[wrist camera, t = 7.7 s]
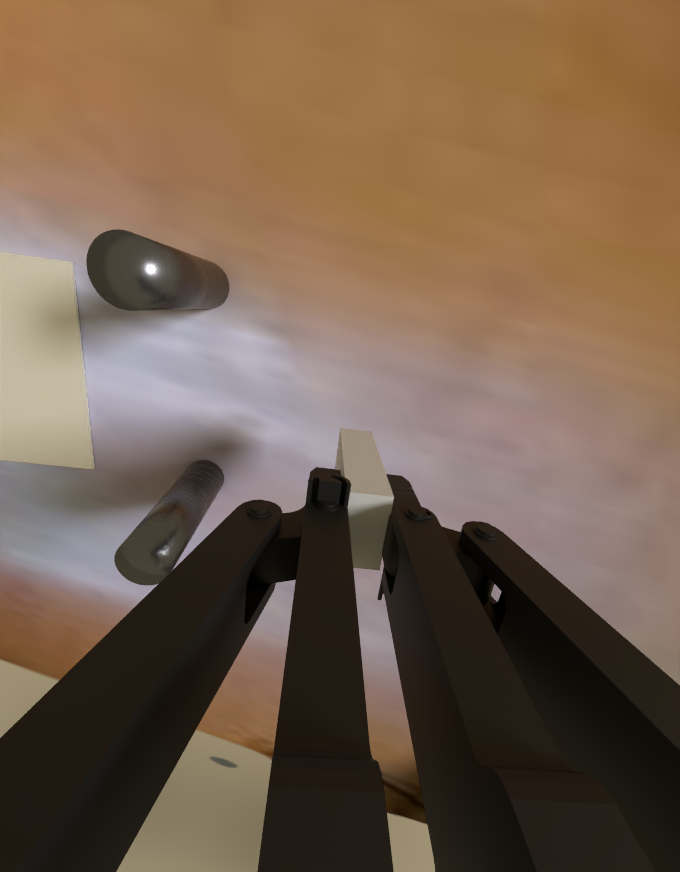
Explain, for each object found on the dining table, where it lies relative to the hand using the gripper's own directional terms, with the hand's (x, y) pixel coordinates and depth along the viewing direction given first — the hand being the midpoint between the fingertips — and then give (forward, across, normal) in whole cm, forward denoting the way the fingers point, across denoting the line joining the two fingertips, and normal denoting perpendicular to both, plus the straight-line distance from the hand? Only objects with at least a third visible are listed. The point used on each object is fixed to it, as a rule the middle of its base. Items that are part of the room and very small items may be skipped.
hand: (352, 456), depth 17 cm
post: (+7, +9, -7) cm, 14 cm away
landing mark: (+7, +23, -1) cm, 24 cm away
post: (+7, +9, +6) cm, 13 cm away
